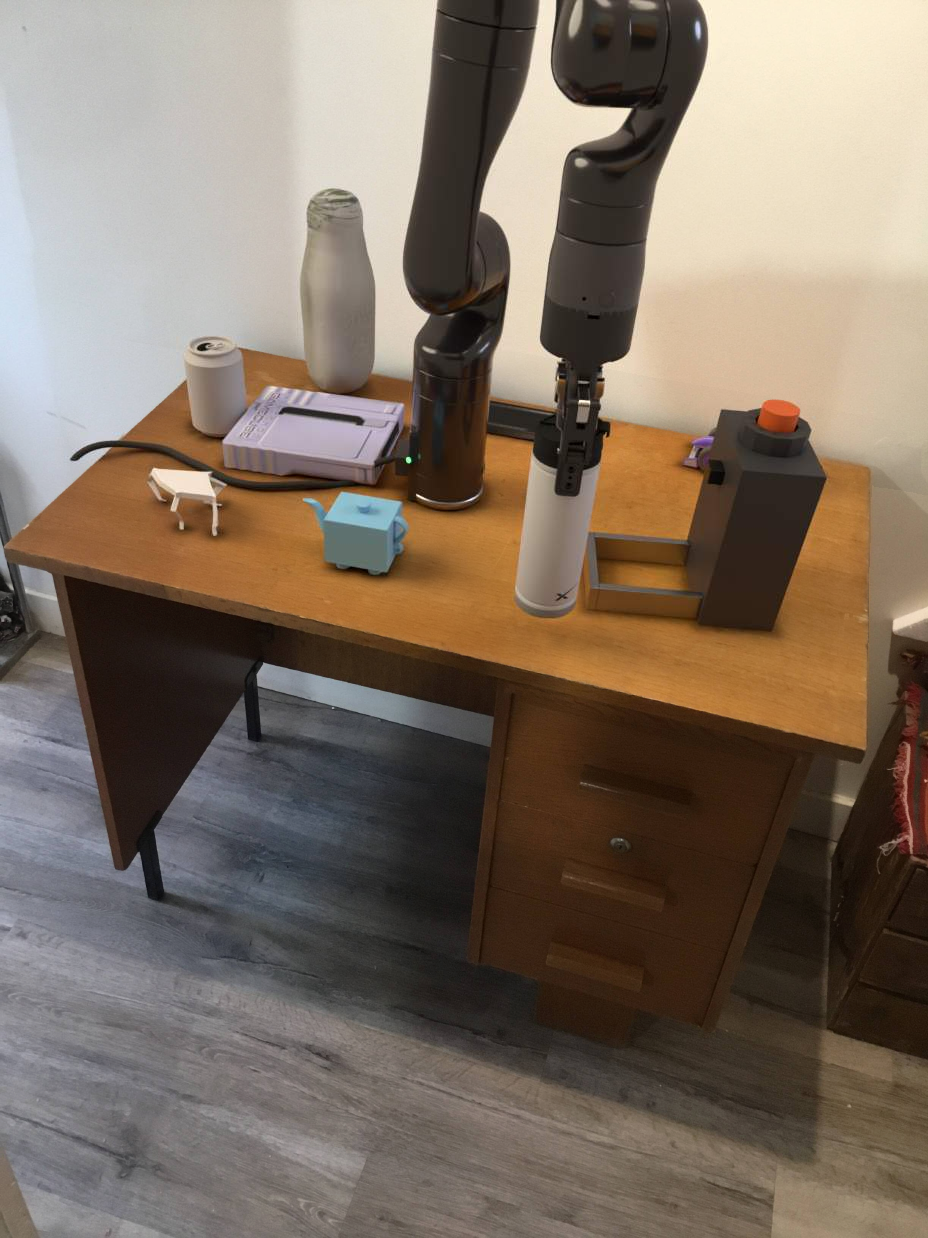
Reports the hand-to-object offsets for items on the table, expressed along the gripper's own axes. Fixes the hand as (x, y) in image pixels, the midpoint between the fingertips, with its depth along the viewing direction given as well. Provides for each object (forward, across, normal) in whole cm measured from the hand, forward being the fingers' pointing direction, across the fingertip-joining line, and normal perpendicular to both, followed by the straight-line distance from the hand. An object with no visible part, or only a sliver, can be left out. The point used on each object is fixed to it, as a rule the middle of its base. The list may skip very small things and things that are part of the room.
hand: (565, 473), depth 83 cm
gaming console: (+19, -36, -30) cm, 51 cm away
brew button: (-1, -10, +21) cm, 23 cm away
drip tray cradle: (+19, -10, +11) cm, 24 cm away
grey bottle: (+19, -54, -30) cm, 65 cm away
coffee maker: (+19, -10, +21) cm, 30 cm away
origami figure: (+19, -17, -42) cm, 49 cm away
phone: (+19, -47, -3) cm, 51 cm away
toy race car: (+19, -40, +28) cm, 52 cm away
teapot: (+19, -11, -21) cm, 31 cm away
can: (+19, -39, -44) cm, 62 cm away
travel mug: (+15, 0, 0) cm, 15 cm away
